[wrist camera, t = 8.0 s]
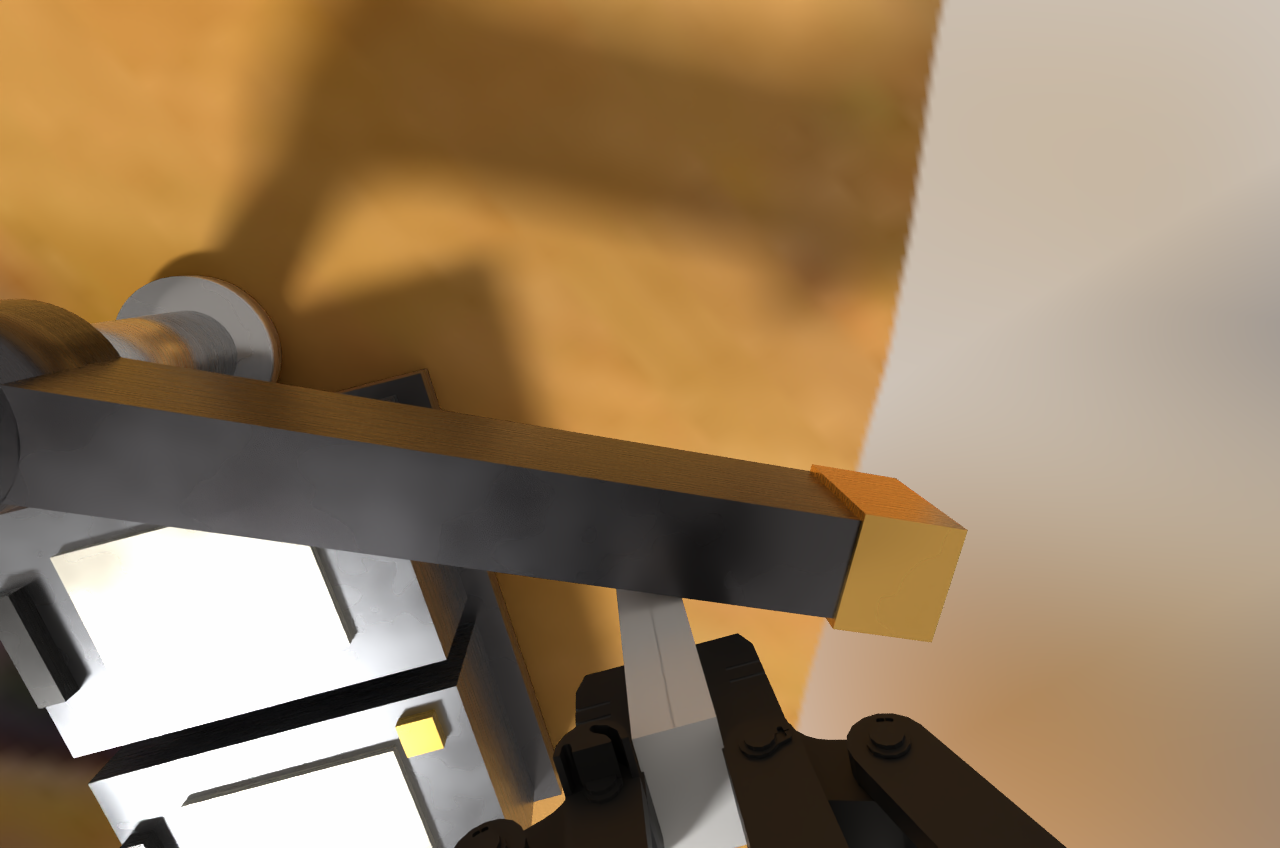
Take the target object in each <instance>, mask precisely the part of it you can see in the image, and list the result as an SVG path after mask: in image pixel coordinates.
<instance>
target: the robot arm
mask: <svg viewBox="0 0 1280 848" xmlns="http://www.w3.org/2000/svg"><path fill="white" fill-rule="evenodd" d="M616 591H617V601H618V611H619V620H620V630H621V640H622V649H623V659H624V666H620V667H616V668H612V669H609V670H605V671H601V672H597V673H594V674H590V675H586V676H585V677H584V679H583V681H582V683H581V684H580V686H579V688H578V690H577V692H576V727H575V728H574V729H573V730H571V731H570V732H569V733H567V734H566V735H565V736H564V737H563V738H562V739H561V740H560V742H559V743H558V744H557V746H556V748H555V751H554V754H553V761H554V764H555V767H556V770H557V773H558V776H559V779H560V782H561V785H562V788H563V791H564V794H565V801H564V802H563V804H562V805H561V806H560V807H559V808H558V809H557V810H556V811H554V812H553V813H552V814H550V815H549V816H548V817H546V818H545V819H543V820H541V821H540V822H538V823H536V824H534V825H532V826H531V827H529V828H527V829H525V830H523V828H522V826H521V825H519V824H518V823H516V822H515V821H513V820H509V819H496V820H492V821H487V822H484V823H483V824H481V825H479V826H477V827H475V828H473V829H472V830H470V831H469V832H468V833H467V834H466V835H465V836H464V837H462V838H461V839H460V840H459V841H458V842H457V844H456V845H455V847H454V848H735V847H739V846H743V845H746V844H747V847H748V848H1066V847H1065V846H1064V845H1063V844H1061V843H1060V842H1059V841H1058V840H1057V839H1056V838H1055V837H1053V836H1052V835H1051V834H1050V833H1049V832H1047V831H1046V830H1045V829H1044V828H1043V827H1041V826H1040V825H1039V824H1038V823H1037V822H1035V821H1034V820H1033V819H1032V818H1031V817H1030V816H1028V815H1027V814H1026V813H1025V812H1024V811H1023V810H1021V809H1020V808H1019V807H1018V806H1017V805H1015V804H1014V803H1013V802H1012V801H1011V800H1010V799H1008V798H1007V797H1006V796H1005V795H1004V794H1002V793H1001V792H1000V791H999V790H997V788H995V787H994V786H993V785H992V784H991V783H989V782H988V781H987V780H986V779H985V778H983V777H982V776H981V775H980V774H979V773H977V772H976V771H975V770H974V769H973V768H972V767H970V766H969V765H968V764H967V763H966V762H965V761H963V760H962V759H961V758H960V757H958V756H957V755H956V754H955V753H954V752H953V751H951V750H950V749H949V748H948V747H947V746H946V745H944V744H943V743H942V742H941V741H940V740H938V739H937V738H936V737H935V736H934V735H933V734H931V733H930V732H929V731H928V730H927V729H925V728H924V727H923V726H922V725H921V724H919V723H917V722H915V721H914V720H912V719H910V718H909V717H905V716H901V715H897V714H875V715H872V716H868V717H865V718H863V719H861V720H860V721H858V722H857V723H856V724H854V725H853V726H852V728H851V730H850V731H849V733H848V735H847V740H825V739H816V738H812V737H808V736H805V735H804V734H802V733H800V732H798V731H796V730H795V729H794V728H793V727H792V725H791V724H789V723H788V722H787V720H786V719H785V717H784V714H783V712H782V710H781V707H780V705H779V703H778V701H777V698H776V696H775V694H774V691H773V689H772V687H771V685H770V682H769V680H768V678H767V676H766V674H765V671H764V669H763V666H762V664H761V662H760V660H759V657H758V655H757V653H756V651H755V648H754V646H753V644H752V643H751V642H749V641H748V640H746V639H745V638H744V637H742V636H741V635H739V634H738V633H737V634H733V635H730V636H726V637H722V638H718V639H715V640H711V641H707V642H703V643H700V644H696V645H695V642H694V639H693V635H692V632H691V628H690V625H689V621H688V618H687V615H686V611H685V608H684V604H683V601H682V598H681V597H673V596H666V595H659V594H652V593H644V592H637V591H630V590H623V589H616Z"/></svg>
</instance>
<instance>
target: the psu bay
mask: <svg viewBox="0 0 1280 848" xmlns="http://www.w3.org/2000/svg"><path fill="white" fill-rule="evenodd" d="M334 393H340V394H346V395H352V396H358V397H364V398H371V399H377V400H383V401H389V402H395V403H401V404H407V405H413V406H419V407H425V408H431V409H437V410H441V409H440V406H439V403H438V400H437V397H436V394H435V391H434V388H433V385H432V382H431V379H430V376H429V373H428V370H427V369H423V370H419V371H415V372H411V373H407V374H403V375H399V376H395V377H392V378H388V379H384V380H380V381H376V382H372V383H368V384H364V385H360V386H356V387H353V388H349V389H345V390H341V391H337V392H334ZM0 640H1V642H2V643H3V645H4V647H5V649H6V651H7V652H8V654H9V656H10V658H11V660H12V661H13V663H14V665H15V667H16V669H17V670H18V672H19V674H20V676H21V677H22V679H23V681H24V683H25V685H26V686H27V688H28V690H29V692H30V694H31V695H32V697H33V699H34V701H35V703H36V704H37V706H38V708H39V709H40V708H44V707H46V709H47V711H48V712H49V714H50V716H51V718H52V720H53V722H54V723H55V725H56V727H57V729H58V731H59V732H60V734H61V736H62V738H63V740H64V741H65V743H66V745H67V747H68V749H69V750H70V752H71V754H72V756H73V758H76V757H80V756H84V755H87V754H91V753H95V752H99V751H103V750H106V749H110V748H114V747H118V746H122V745H124V746H123V747H122V748H121V749H120V750H119V751H118V752H117V753H116V754H115V755H114V756H113V758H112V759H111V760H110V761H109V762H108V763H107V764H106V765H105V766H104V767H103V768H102V769H101V770H100V771H99V772H98V774H97V775H96V776H95V777H94V778H93V779H92V780H91V781H90V782H89V783H88V785H89V786H90V788H91V790H92V792H93V794H94V795H95V797H96V799H97V801H98V803H99V805H100V806H101V808H102V810H103V812H104V814H105V815H106V817H107V819H108V821H109V823H110V824H111V826H112V828H113V830H114V832H115V833H116V835H117V837H118V839H119V841H120V842H121V844H122V846H121V847H120V848H454V847H455V845H456V844H457V842H458V841H459V840H460V839H461V838H462V837H464V836H465V835H466V834H467V833H468V832H469V831H470V830H472V829H473V828H475V827H477V826H479V825H481V824H483V823H484V822H487V821H492V820H496V819H509V820H513V821H515V822H516V823H518V824H519V825H521V826H522V828H523V830H525V829H527V828H529V827H531V823H532V812H533V802H535V801H538V800H542V799H546V798H550V797H553V796H557V795H561V794H562V785H561V782H560V779H559V776H558V773H557V770H556V767H555V764H554V761H553V754H554V750H553V747H552V744H551V741H550V738H549V735H548V732H547V728H546V725H545V722H544V719H543V716H542V713H541V710H540V707H539V704H538V701H537V698H536V695H535V692H534V689H533V686H532V683H531V680H530V677H529V674H528V671H527V668H526V665H525V662H524V659H523V656H522V653H521V650H520V647H519V644H518V641H517V638H516V635H515V632H514V629H513V626H512V623H511V620H510V617H509V614H508V611H507V608H506V605H505V602H504V599H503V596H502V593H501V590H500V587H499V584H498V581H497V578H496V575H495V572H493V571H485V570H478V569H471V568H464V567H456V566H449V565H442V564H435V563H428V562H420V561H413V560H406V559H399V558H391V557H384V556H377V555H370V554H362V553H355V552H348V551H341V550H334V549H326V548H319V547H312V546H305V545H297V544H290V543H283V542H276V541H269V540H261V539H254V538H247V537H240V536H232V535H225V534H218V533H211V532H203V531H196V530H189V529H182V528H175V527H167V526H160V525H153V524H146V523H138V522H131V521H124V520H117V519H110V518H102V517H95V516H88V515H81V514H73V513H66V512H59V511H52V510H44V509H37V508H30V507H23V506H17V507H14V508H12V509H10V510H8V511H5V512H3V513H1V514H0Z"/></svg>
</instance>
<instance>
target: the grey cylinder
mask: <svg viewBox="0 0 1280 848" xmlns="http://www.w3.org/2000/svg"><path fill="white" fill-rule="evenodd" d="M91 325H92V326H93V327H95V328H96V329H97V330H98V331H100V332H101V333H102V334H103V335H104V336H105V337H106V338H107V339H108V340H109V342H110V343H111V344H112V345H113V346H114V348H115V349H116V350H117V352H118V353H119V355H120V356H121V357H123V358H129V359H135V360H141V361H147V362H153V363H159V364H165V365H171V366H177V367H183V368H189V369H195V370H202V371H208V372H214V373H220V374H226V375H232V376H238V377H244V378H250V379H256V380H262V381H268V382H274V383H277V381H278V378H279V375H280V371H281V364H282V350H281V344H280V340H279V336H278V333H277V331H276V328H275V326H274V324H273V322H272V320H271V319H270V317H269V315H268V314H267V313H266V311H265V310H264V309H263V308H262V306H261V305H260V304H259V303H258V302H257V301H256V300H255V299H254V298H253V297H251V296H250V295H249V294H248V293H246V292H245V291H243V290H242V289H240V288H238V287H237V286H235V285H233V284H231V283H228V282H226V281H223V280H220V279H217V278H213V277H208V276H198V275H194V276H175V277H167V278H162V279H159V280H156V281H153V282H151V283H149V284H147V285H145V286H143V287H141V288H140V289H138V290H137V291H136V292H135V293H133V294H132V295H131V296H130V297H129V298H128V300H127V301H126V302H125V303H124V305H123V306H122V308H121V310H120V312H119V314H118V316H117V319H116V320H113V321H106V322H99V323H92V324H91Z"/></svg>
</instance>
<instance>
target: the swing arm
mask: <svg viewBox="0 0 1280 848" xmlns="http://www.w3.org/2000/svg"><path fill="white" fill-rule="evenodd" d="M17 506H23V507H30V508H37V509H44V510H52V511H59V512H66V513H73V514H81V515H88V516H95V517H102V518H110V519H117V520H124V521H131V522H138V523H146V524H153V525H160V526H167V527H175V528H182V529H189V530H196V531H203V532H211V533H218V534H225V535H232V536H240V537H247V538H254V539H261V540H269V541H276V542H283V543H290V544H297V545H305V546H312V547H319V548H326V549H334V550H341V551H348V552H355V553H362V554H370V555H377V556H384V557H391V558H399V559H406V560H413V561H420V562H428V563H435V564H442V565H449V566H456V567H464V568H471V569H478V570H485V571H493V572H500V573H507V574H514V575H522V576H529V577H536V578H543V579H550V580H558V581H565V582H572V583H579V584H587V585H594V586H601V587H608V588H615V589H623V590H630V591H637V592H644V593H652V594H659V595H666V596H673V597H681V598H688V599H695V600H702V601H709V602H717V603H724V604H731V605H738V606H746V607H753V608H760V609H767V610H774V611H782V612H789V613H796V614H803V615H811V616H818V617H825V618H826V619H827V620H828V622H829V623H830V625H831V626H832V628H833V629H838V630H845V631H852V632H860V633H868V634H875V635H882V636H889V637H896V638H904V639H911V640H918V641H926V642H932V639H933V636H934V633H935V630H936V627H937V624H938V621H939V618H940V615H941V611H942V608H943V605H944V602H945V599H946V596H947V593H948V590H949V587H950V584H951V581H952V577H953V574H954V571H955V568H956V565H957V562H958V559H959V556H960V553H961V549H962V546H963V543H964V540H965V537H966V534H967V531H968V530H967V529H965V528H963V527H962V526H961V525H960V524H958V523H957V522H955V521H954V520H953V519H951V518H950V517H949V516H947V515H946V514H944V513H943V512H941V511H940V510H939V509H937V508H936V507H935V506H933V505H932V504H931V503H929V502H928V501H926V500H925V499H924V498H922V497H921V496H919V495H918V494H917V493H915V492H914V491H912V490H911V489H910V488H908V487H907V486H906V485H904V484H903V483H901V482H900V481H899V480H897V479H896V478H890V477H885V476H879V475H873V474H867V473H861V472H855V471H849V470H843V469H837V468H831V467H825V466H819V465H813V464H812V466H811V470H810V471H805V470H799V469H793V468H787V467H781V466H775V465H769V464H763V463H757V462H751V461H745V460H739V459H733V458H727V457H721V456H715V455H709V454H702V453H696V452H690V451H684V450H678V449H672V448H666V447H660V446H654V445H648V444H642V443H636V442H630V441H624V440H618V439H612V438H606V437H600V436H594V435H588V434H582V433H576V432H570V431H564V430H558V429H552V428H546V427H540V426H533V425H527V424H521V423H515V422H509V421H503V420H497V419H491V418H485V417H479V416H473V415H467V414H461V413H455V412H449V411H443V410H437V409H431V408H425V407H419V406H413V405H407V404H401V403H395V402H389V401H383V400H377V399H371V398H364V397H358V396H352V395H346V394H340V393H334V392H328V391H322V390H316V389H310V388H304V387H298V386H292V385H286V384H280V383H274V382H268V381H262V380H256V379H250V378H244V377H238V376H232V375H226V374H220V373H214V372H208V371H202V370H195V369H189V368H183V367H177V366H171V365H165V364H159V363H153V362H147V361H141V360H135V359H129V358H123V357H121V356H120V355H119V353H118V352H117V350H116V349H115V348H114V346H113V345H112V344H111V343H110V342H109V340H108V339H107V338H106V337H105V336H104V335H103V334H102V333H101V332H100V331H98V330H97V329H96V328H95V327H93V326H92V325H91V324H90V323H88V322H87V321H85V320H84V319H82V318H80V317H79V316H77V315H76V314H74V313H72V312H69V311H67V310H65V309H63V308H60V307H58V306H55V305H52V304H49V303H44V302H40V301H35V300H26V299H7V300H0V514H1V513H3V512H5V511H8V510H10V509H12V508H14V507H17Z"/></svg>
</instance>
